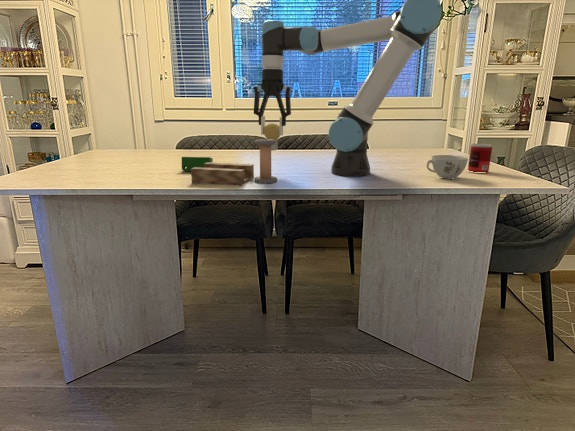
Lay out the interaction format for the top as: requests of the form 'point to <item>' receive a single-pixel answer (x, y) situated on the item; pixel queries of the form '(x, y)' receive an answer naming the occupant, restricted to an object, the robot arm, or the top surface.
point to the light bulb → (272, 134)
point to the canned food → (480, 157)
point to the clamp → (194, 162)
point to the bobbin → (265, 162)
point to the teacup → (448, 165)
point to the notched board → (223, 174)
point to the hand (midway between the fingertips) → (272, 134)
